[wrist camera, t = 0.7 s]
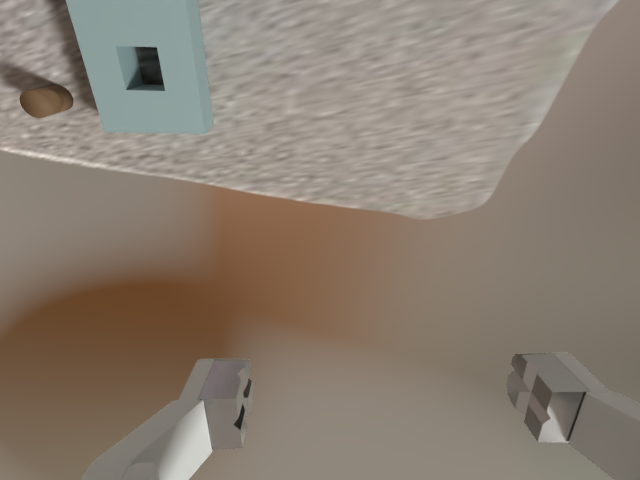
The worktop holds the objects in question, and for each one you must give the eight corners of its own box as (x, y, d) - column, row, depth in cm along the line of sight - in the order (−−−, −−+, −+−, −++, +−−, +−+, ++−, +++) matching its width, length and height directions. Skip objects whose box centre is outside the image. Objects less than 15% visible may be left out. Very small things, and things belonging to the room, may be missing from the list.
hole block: (89, -6, 38) (62, -11, 34) (197, -2, 39) (184, -6, 35) (122, 122, 46) (104, 132, 41) (213, 124, 46) (204, 133, 42)
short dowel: (43, 84, 43) (15, 90, 39) (68, 85, 43) (42, 90, 39) (52, 109, 45) (26, 117, 40) (76, 110, 45) (52, 118, 40)
